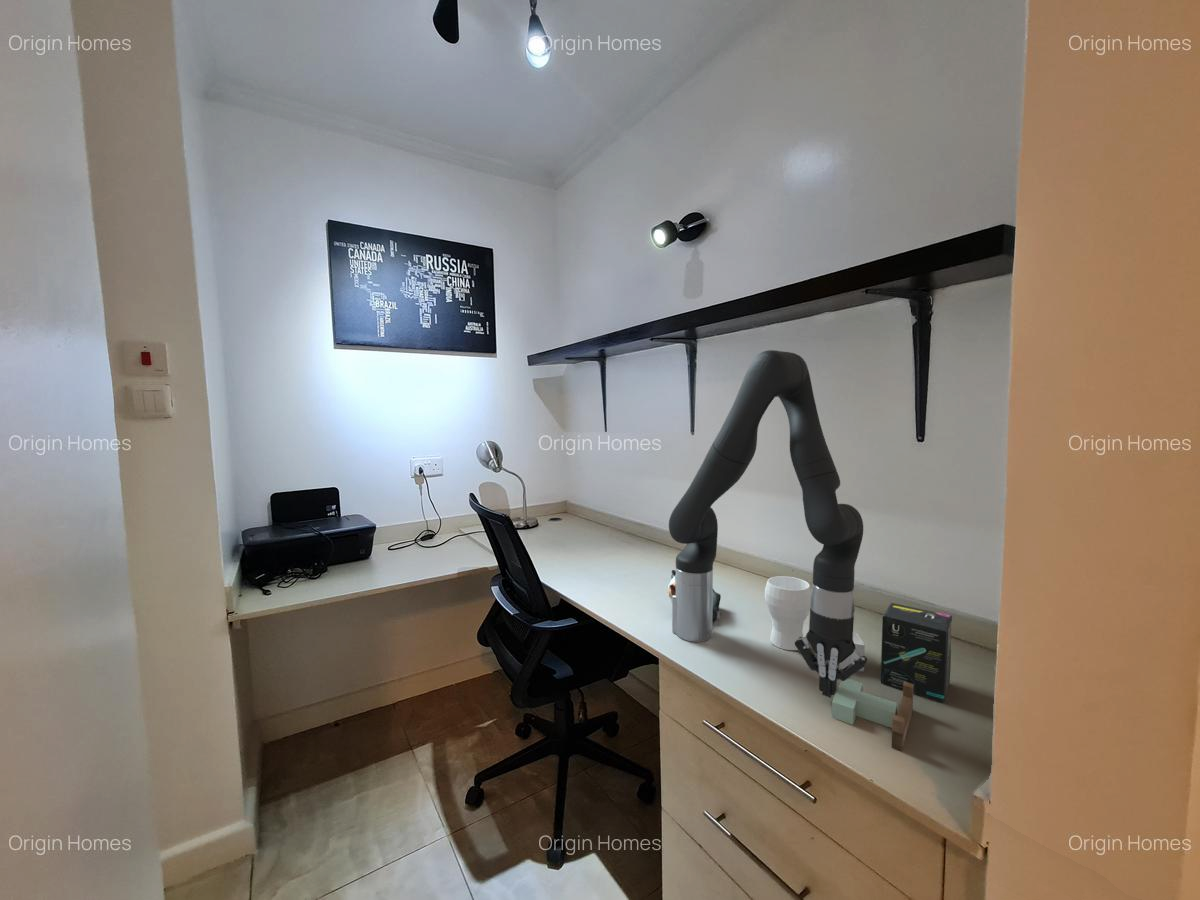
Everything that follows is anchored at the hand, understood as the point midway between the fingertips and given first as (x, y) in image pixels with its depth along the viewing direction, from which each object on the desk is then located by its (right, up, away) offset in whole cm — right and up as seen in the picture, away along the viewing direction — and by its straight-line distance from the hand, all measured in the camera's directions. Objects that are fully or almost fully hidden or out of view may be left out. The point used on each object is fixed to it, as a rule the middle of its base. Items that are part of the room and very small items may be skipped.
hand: (827, 694), depth 90 cm
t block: (+5, -2, -4) cm, 7 cm away
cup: (+1, 0, +23) cm, 23 cm away
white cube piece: (+11, 0, +14) cm, 18 cm away
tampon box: (+21, -1, +6) cm, 22 cm away
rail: (+10, -2, -8) cm, 12 cm away
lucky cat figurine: (-18, +1, +39) cm, 43 cm away
